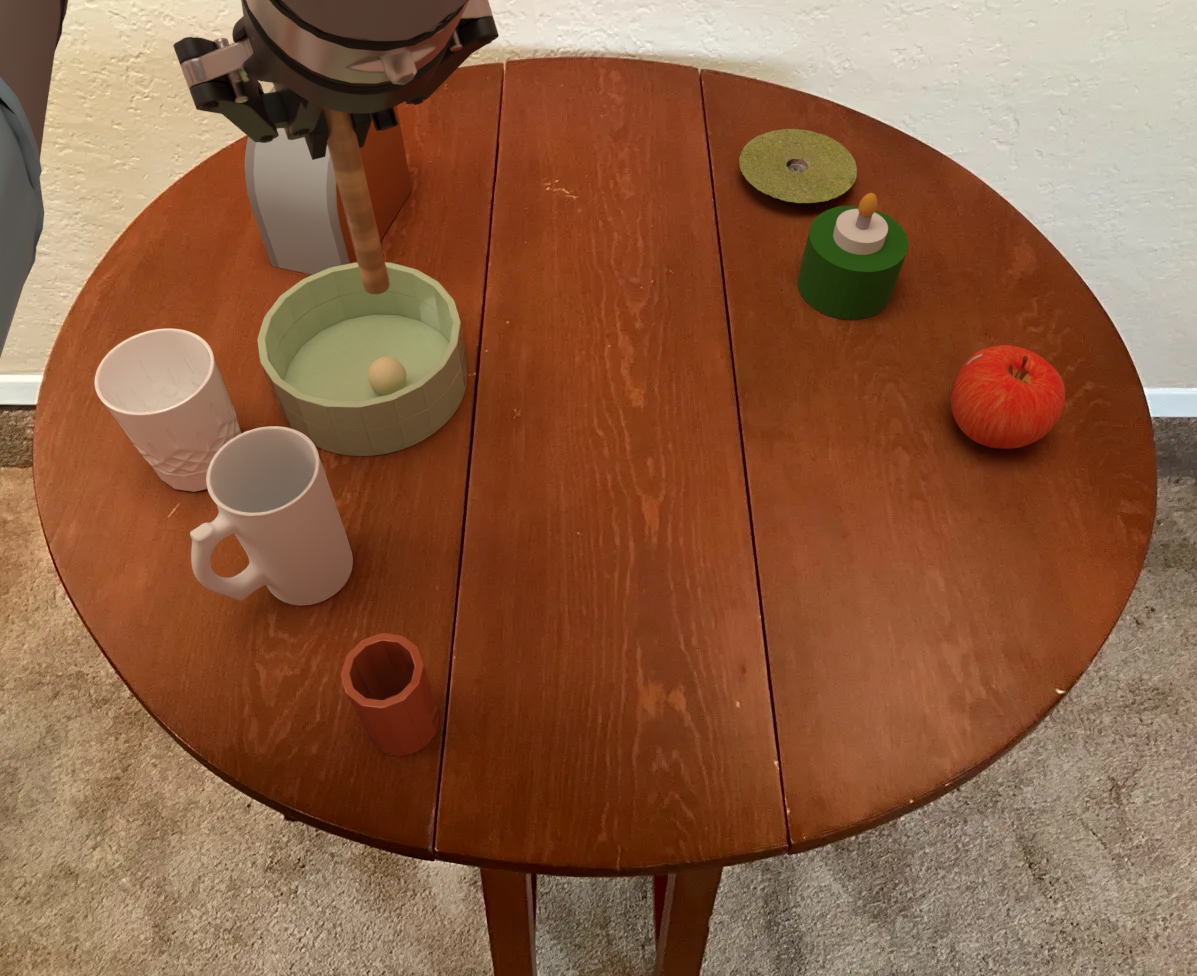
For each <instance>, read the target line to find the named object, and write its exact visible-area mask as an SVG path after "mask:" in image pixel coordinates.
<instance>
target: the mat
mask: <svg viewBox="0 0 1197 976" xmlns="http://www.w3.org/2000/svg"><path fill="white" fill-rule="evenodd" d="M738 159H739V160H738V165H739V168H740V169H739V170H740V172H741V173H742V175H743V177H744V178H745V180H746V181H747V182H748V183H749V184H750V185H751V186H752V187H754V188H755V189H756V190H757V191H759V192H761V193H763V194H765V195H768V196H770V197H772V198H773V199H777V200H778V199H779V200H780V201H784V202H787V203H788V202H789V203H795V204H813V203H814V204H815V203H820V202H822V203H823V202H829V200H832V199H836V198H838V197H839V196H842V195H843V194H845V193H846V192H848V191H849V190H850V189H851V188H852V187H853V185H854V184H855V182H856V179H857V176H858V175H857V174H858V167H857V162H856V159H855V158H854V156H853V155H852V153H851V152H850V151H849V150H848V149H847V148H846V147H845V146H844V145H843V144H842V143H840V142H839V141H837V140H836V139H834V138H832V137H830V136H828V135H826V134H822V133H819V132H816V131H813V130H808V129H801V128H785V129H784V128H782V129H775V130H772V131H771V130H770V131H767V132H765V133H762V134H760V135H757V136H755V137H754V138H752V139H750V140H749V141H748V142H747V143H746V144H745V145H744V146H743V148H742V150H741V152H740V154H739V158H738Z"/></svg>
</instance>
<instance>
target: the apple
mask: <svg viewBox="0 0 1197 976" xmlns="http://www.w3.org/2000/svg"><path fill="white" fill-rule="evenodd" d="M950 397H951V398H950V406H951V407H950V408H951V412H952V416H953V420H954V421H955V423H956V424H957V426H958V427H959V429H960V430H961V431H962V432H963V434H965V436H966V437H968V439H970V440H971V441H973V442H975V443H977V444H980V445H982V446H985V447H988V448H992V449H1007V450H1008V449H1018V448H1019V449H1020V448H1023V447H1026V446H1028V445H1031V444H1033V443H1035V442H1037V441H1039V440H1041V439H1042V438H1044V437H1045V436H1047V434H1049V433H1050V432H1051V431H1052V430H1053V428H1055V426H1056V424H1057V422H1058V421H1059V419H1060V417H1061V416H1062V413H1063V410H1064V408H1065V404H1066V388H1065V383H1064V380H1063V378H1062V377H1061V375H1060V373H1059V372H1058V370H1057V369H1056V368H1055V367H1054V366H1053V365H1052V364H1051V363H1049V362H1048V361H1047V360H1046V359H1044V358H1043V357H1041V356H1040V355H1039V354H1037V353H1035V351H1034V352H1033V351H1031V350H1029V349H1027V348H1024V347H1020V346H1016V345H1009V344H998V345H994V346H990V347H986V348H983V349H980V350H978V351H976V352H975V353H973V354H972V355H970V356H969V357H968V358H967V359H966V361H965V362H964V363H963V364H962V366H961V368H960V370H959V372H958V374H957V376H956V379H955V381H954V385H953V387H952V391H951V396H950Z"/></svg>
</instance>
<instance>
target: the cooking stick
mask: <svg viewBox="0 0 1197 976" xmlns="http://www.w3.org/2000/svg"><path fill="white" fill-rule="evenodd" d="M322 112H323V115H324V118H325V121H326V124H327V127H328V130H329V135H328V140H327V145H328V149H329V153H330V157H331V161H332V165H333V169H334V173H335V177H336V181H337V184H338V188H339V192H340V196H341V200H342V204H343V208H344V212H345V216H346V220H347V224H348V228H349V231H350V235H351V239H352V243H353V247H354V251H355V255H356V259H357V263H358V267H359V271H360V275H361V278H362V282H363V286H364V289H365V291H366V292H368V293H370V294H375V295H376V294H381V293H384V292H385V291H387V290H388V288H389V285H390V283H389V278H388V274H387V269H386V265H385V262H386V261H385V256H384V252H383V247H382V244H381V241H380V238H379V234H378V229H377V225H376V220H375V216H374V211H373V207H372V202H371V198H370V194H369V189H368V185H367V180H366V176H365V171H364V167H363V162H362V158H361V154H360V149H359V145H358V140H357V136H356V132H355V128H354V124H353V119H352V115H351V113H345V112H339V111H334V110H331V109H327V108H324V107H323V109H322Z"/></svg>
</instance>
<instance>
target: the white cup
mask: <svg viewBox="0 0 1197 976" xmlns="http://www.w3.org/2000/svg"><path fill="white" fill-rule="evenodd" d="M221 372H222V371H221V370H220V367H219V365H218V362H217V360H216V357H215V355H214V352H213V349H212V347H211V346H210V345H209V343H208V342H207V341H206V340H205V339H204V338H203V337H201V336H200V335H198V334H196V333H194V332H192V331H189V330H185V329H181V328H172V327H171V328H170V327H167V328H156V329H151V330H150V329H149V330H146V331H143V332H139V333H137V334H135V335H132V336H130V337H128V338H126V339H125V340H123V341H121V342H120V343H117V344H116V345H115V346H114V347H113V348H112V349H111V350H109V351H108V353H107V354H105V356H104V357H103V358H102V360H101V362H100V363H99V365H98V367H97V369H96V372H95V374H94V375H95V376H94V390H95V393H96V395H97V397H98V398H99V400H100V401H101V403H102V404H103V405H104V407H105V408H106V409H107V410H108V412H109V413H110V415H111V417H113V419H114V421H116V423H117V424H118V426H119V427H120V428H121V430H122V431H123V432H124V434H125V436H126V437H127V439H128V440H129V441H130V442H131V444H132V445H133V446H134V447H135V448H136V450H137V451H138V453H139V454H140V455H141V456H142V457H143V458H144V460H145V461H146V462H147V463H148V464H149V465H150V467H151V468H152V470H153V471H154V472H155V473H156V475H157V476H158V478H159V479H160V480H161V481H162V482H164V483H165V484H167V485H168V486H170V487H171V488H172V489H174V490H178V491H184V492H192V493H196V492H200V491H205V490H208V489H207V484H206V476H207V471H208V467H209V465H210V463H211V461H212V459H213V457H214V456H215V454H216V453H217V452H218V451H219V450H220V449H221V447H223V446H224V445H225V444H226V443H227V442H228V441H230V440H231V439H233V438H234V437H236V436H238V435H240V434H242V433H243V432H242V431H241V428H240V425H239V422H238V415H237V413H236V410H235V407H234V404H233V402H232V399H231V395H230V392H229V390H228V388H227V385H226V382H225V380H224V378H223V375H222V373H221Z"/></svg>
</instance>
